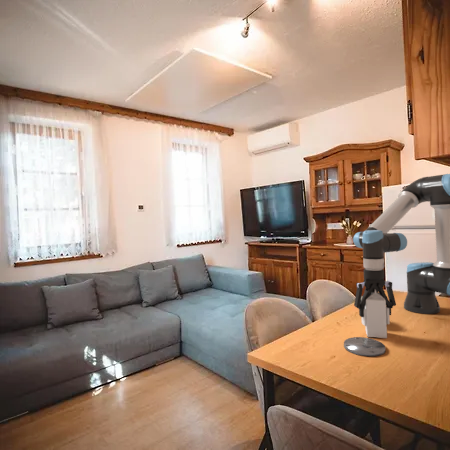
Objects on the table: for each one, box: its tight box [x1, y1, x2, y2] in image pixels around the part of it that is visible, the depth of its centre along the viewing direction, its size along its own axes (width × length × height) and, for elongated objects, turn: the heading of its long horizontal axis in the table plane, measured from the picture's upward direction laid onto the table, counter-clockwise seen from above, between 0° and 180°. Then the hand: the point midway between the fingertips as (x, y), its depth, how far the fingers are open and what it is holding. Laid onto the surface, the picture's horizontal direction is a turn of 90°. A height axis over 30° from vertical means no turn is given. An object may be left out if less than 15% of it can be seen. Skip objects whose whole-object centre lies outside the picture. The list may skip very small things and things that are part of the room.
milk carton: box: [364, 289, 388, 339], centre depth 127 cm, size 7×7×19 cm
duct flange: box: [343, 336, 386, 358], centre depth 116 cm, size 14×14×1 cm
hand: (375, 323), depth 127 cm, fingers closed on milk carton, 9 cm apart
